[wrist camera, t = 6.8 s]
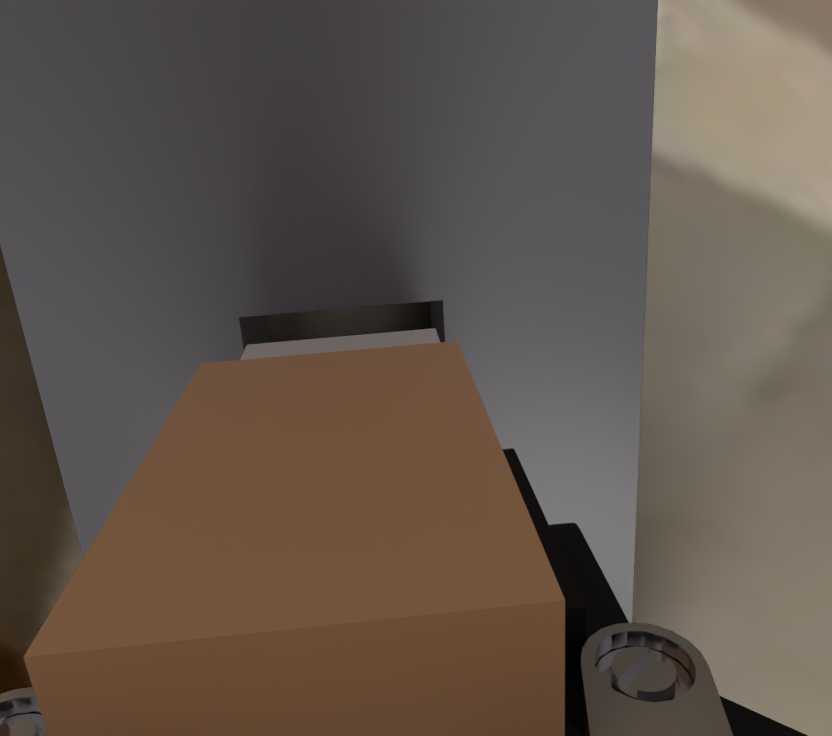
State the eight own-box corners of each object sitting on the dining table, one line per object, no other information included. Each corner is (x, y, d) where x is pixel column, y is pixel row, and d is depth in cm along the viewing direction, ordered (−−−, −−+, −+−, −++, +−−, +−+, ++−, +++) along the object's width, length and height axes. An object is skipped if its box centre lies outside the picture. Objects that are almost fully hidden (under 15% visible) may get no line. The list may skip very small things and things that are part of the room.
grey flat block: (598, -63, 18) (662, -106, 14) (587, 609, 25) (628, 700, 21) (14, -26, 17) (-81, -62, 13) (169, 654, 24) (135, 755, 20)
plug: (432, 282, 15) (564, 600, 6) (448, 529, 17) (563, 1077, 8) (239, 298, 15) (23, 656, 5) (278, 546, 17) (173, 1132, 7)
